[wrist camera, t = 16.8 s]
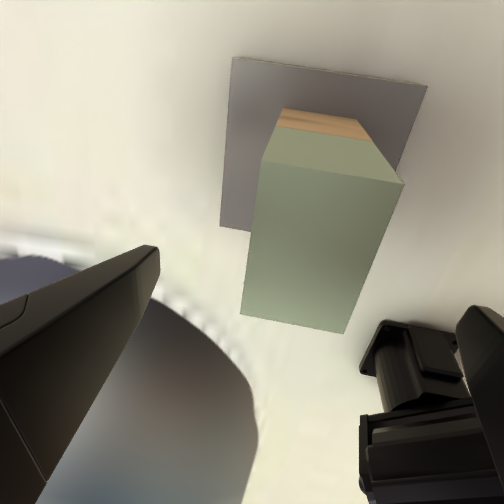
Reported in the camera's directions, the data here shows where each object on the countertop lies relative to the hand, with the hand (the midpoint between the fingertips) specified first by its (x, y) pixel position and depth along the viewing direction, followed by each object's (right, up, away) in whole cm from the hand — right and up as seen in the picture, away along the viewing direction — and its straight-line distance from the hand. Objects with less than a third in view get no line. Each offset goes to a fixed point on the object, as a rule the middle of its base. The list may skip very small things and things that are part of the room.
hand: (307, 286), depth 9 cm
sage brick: (+1, +3, +5) cm, 7 cm away
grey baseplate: (+2, +7, +11) cm, 13 cm away
